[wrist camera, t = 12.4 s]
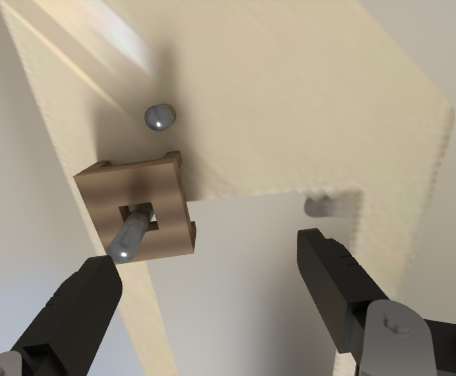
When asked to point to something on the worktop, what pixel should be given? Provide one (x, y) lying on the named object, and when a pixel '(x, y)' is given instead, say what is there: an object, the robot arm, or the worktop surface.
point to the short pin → (160, 117)
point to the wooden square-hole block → (136, 194)
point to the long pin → (131, 233)
